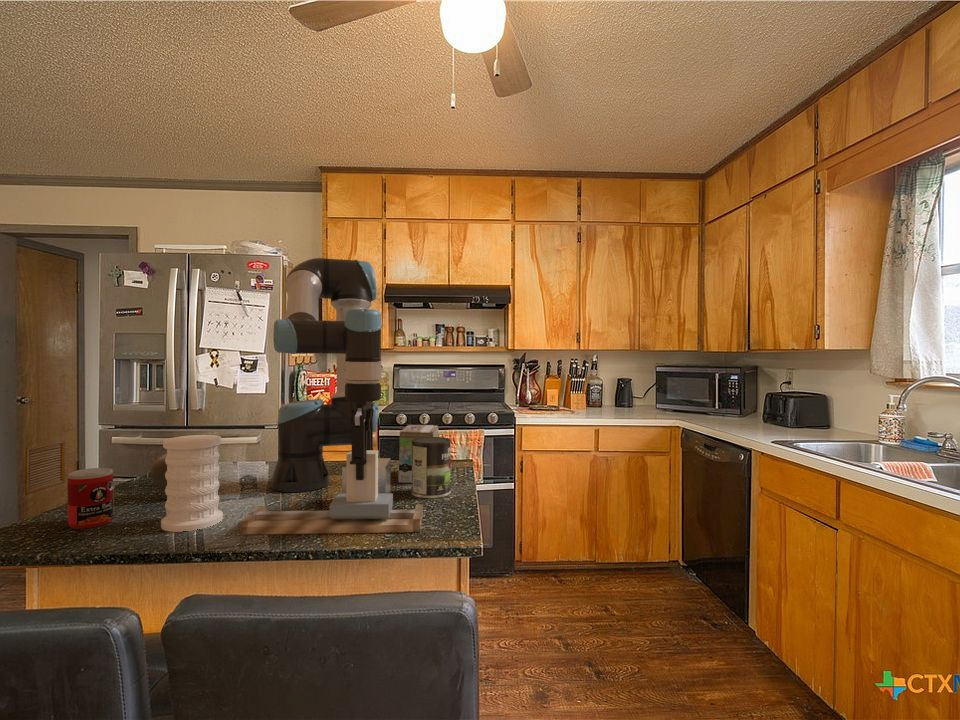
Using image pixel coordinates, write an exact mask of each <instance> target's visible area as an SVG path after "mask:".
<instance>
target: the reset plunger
mask: <svg viewBox="0 0 960 720" xmlns="http://www.w3.org/2000/svg"><path fill="white" fill-rule="evenodd" d="M377 435H378V434H377V431H376V432H373V447H377V445H378V441H377V440H378V439H377V438H378V437H377Z"/></svg>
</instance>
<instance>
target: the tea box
mask: <svg viewBox="0 0 960 720" xmlns="http://www.w3.org/2000/svg"><path fill="white" fill-rule="evenodd" d="M420 437H439V425H433V424H431V425H429V424H408V425H406V426H405V427H404V428H403V429H401V430H400V431H399V444H398V445H399V447H398V448H399V450H398V453H399V454H398V457H399V458H398V483H407V484H408V483H409V484H412V439H415V438H420Z"/></svg>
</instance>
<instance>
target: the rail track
mask: <svg viewBox="0 0 960 720" xmlns="http://www.w3.org/2000/svg"><path fill="white" fill-rule="evenodd" d="M423 517H424V504H419V503H418V504H417V503H416V504H415V507H414V509H392V510H391V511H390V518H377V519H331V517H329V510H277V511H275V510H272V511H271V510H267V505H258V506H257V507H256V508H254V509H253V510H252V511H251V512H250V513H248V514H247V515H246V516H245V517H243V518H242V519H241V520H240V521H239V534H240V535H288V534H289V535H291V534H292V535H293V534H294V535H296V534H297V535H298V534H299V535H300V534H303V535H304V534H307V535H308V534H309V535H310V534H361V533H362V534H363V533H364V534H366V533H367V534H368V533H370V534H371V533H378V534H379V533H421V529H422V525H423Z"/></svg>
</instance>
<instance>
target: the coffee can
mask: <svg viewBox="0 0 960 720" xmlns="http://www.w3.org/2000/svg"><path fill="white" fill-rule="evenodd" d="M451 443H452V439H450V438H449V437H444V436H443V437H442V436H438V437H420V438H415V439H412V483H411V495H412V496H414V497H416V498H420V499H439V498H445V497H447V496H450V494H451Z"/></svg>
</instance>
